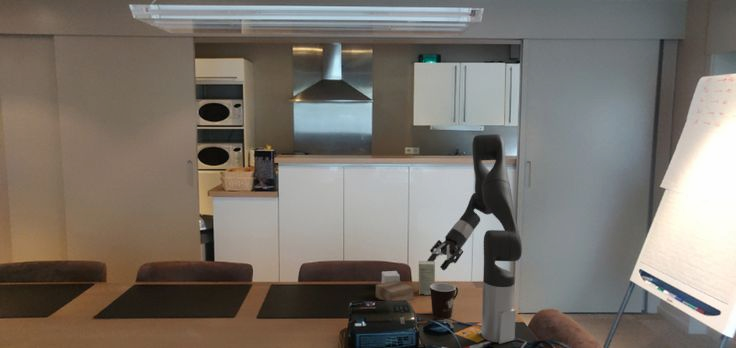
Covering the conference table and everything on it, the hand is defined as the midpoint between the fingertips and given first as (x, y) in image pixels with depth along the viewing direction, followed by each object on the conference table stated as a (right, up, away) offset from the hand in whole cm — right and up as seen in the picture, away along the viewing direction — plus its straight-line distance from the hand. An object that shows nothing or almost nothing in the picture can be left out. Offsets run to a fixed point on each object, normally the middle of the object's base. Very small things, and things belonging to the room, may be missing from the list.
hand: (435, 266), depth 193 cm
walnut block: (-16, -11, -7) cm, 21 cm away
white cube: (-17, -10, +5) cm, 20 cm away
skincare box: (-4, -11, -1) cm, 11 cm away
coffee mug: (+1, -13, -22) cm, 26 cm away
